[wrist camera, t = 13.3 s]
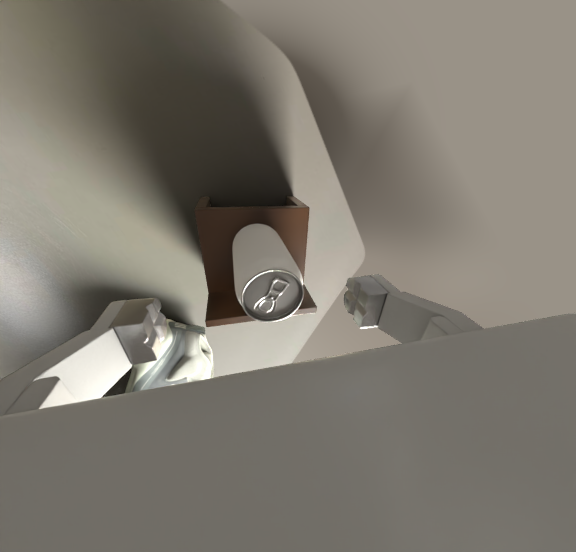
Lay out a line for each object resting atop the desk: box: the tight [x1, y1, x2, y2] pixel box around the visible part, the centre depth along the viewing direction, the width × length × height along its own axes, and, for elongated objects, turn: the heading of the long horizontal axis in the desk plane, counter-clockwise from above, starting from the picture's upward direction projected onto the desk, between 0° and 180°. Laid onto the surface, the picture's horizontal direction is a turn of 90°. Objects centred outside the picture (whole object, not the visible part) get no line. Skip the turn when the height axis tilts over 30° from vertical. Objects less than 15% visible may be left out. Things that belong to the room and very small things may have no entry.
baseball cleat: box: [125, 319, 213, 393], centre depth 43 cm, size 10×29×15 cm
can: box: [232, 224, 304, 322], centre depth 25 cm, size 6×6×12 cm
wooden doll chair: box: [194, 196, 317, 327], centre depth 31 cm, size 14×12×14 cm
